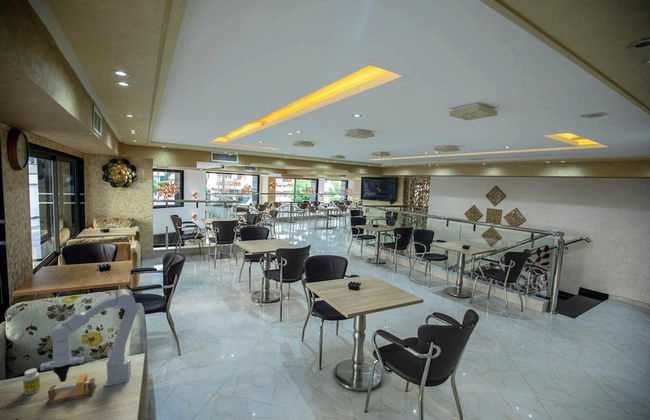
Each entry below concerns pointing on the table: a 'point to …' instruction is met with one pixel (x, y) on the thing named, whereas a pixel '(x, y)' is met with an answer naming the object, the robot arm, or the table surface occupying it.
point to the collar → (81, 385)
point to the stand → (69, 394)
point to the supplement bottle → (31, 381)
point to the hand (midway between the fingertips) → (63, 380)
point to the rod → (68, 387)
